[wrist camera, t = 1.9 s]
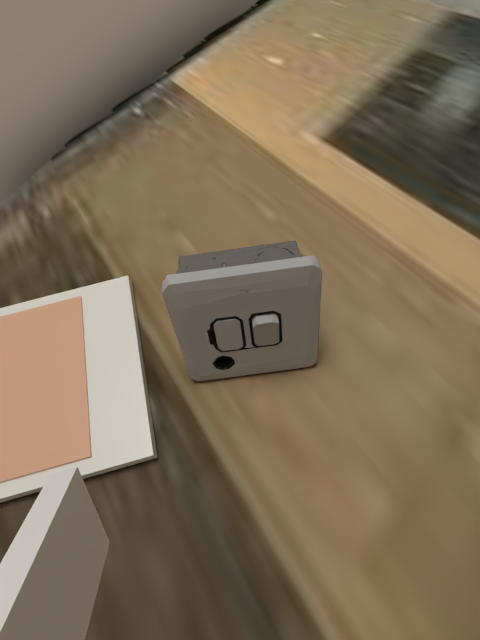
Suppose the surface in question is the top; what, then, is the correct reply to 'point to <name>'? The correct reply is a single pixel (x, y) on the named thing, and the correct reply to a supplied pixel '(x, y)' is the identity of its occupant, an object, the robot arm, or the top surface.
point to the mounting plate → (72, 387)
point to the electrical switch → (245, 310)
